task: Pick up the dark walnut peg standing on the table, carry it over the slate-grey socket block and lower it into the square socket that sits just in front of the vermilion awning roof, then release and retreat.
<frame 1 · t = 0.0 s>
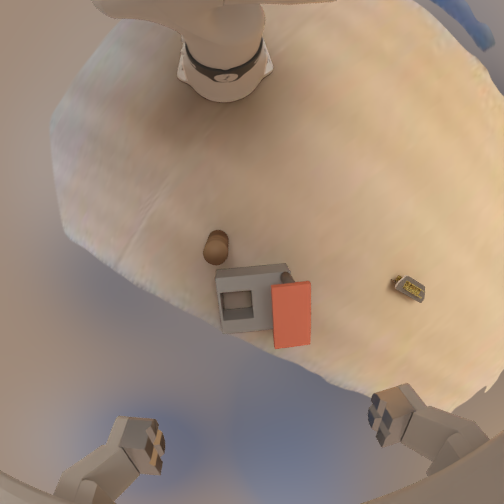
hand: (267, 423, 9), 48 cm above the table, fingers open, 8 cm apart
walnut peg: (218, 240, 56), on the table
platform: (401, 281, 62), on the table
socket stand: (253, 294, 59), on the table
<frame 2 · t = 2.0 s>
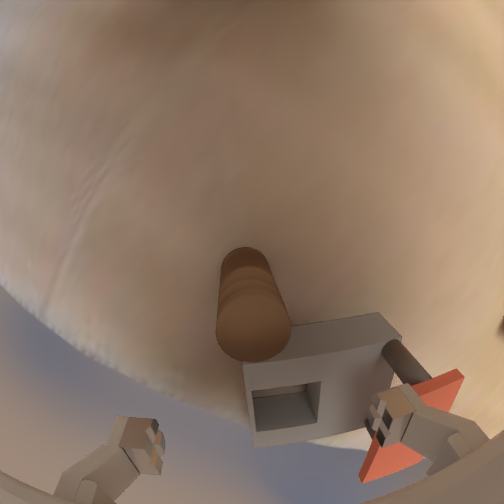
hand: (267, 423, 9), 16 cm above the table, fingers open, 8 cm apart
walnut peg: (245, 270, 24), on the table
socket stand: (311, 370, 28), on the table
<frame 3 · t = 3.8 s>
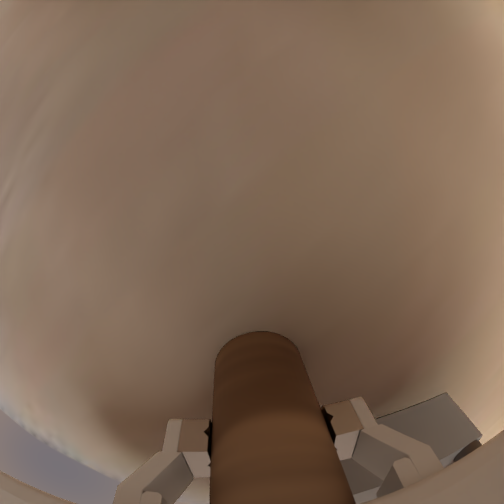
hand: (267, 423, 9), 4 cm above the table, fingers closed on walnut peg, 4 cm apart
walnut peg: (258, 367, 12), on the table, touching gripper
socket stand: (347, 468, 16), on the table
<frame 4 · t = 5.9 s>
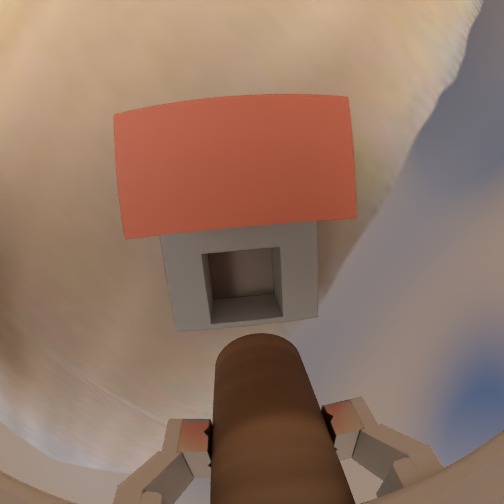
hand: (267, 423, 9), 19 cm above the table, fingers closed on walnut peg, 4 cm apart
walnut peg: (258, 369, 12), point 15 cm above the table, touching gripper
socket stand: (238, 231, 26), on the table
when the fingers open (6 cm above the table, at t = 8.0 s): walnut peg drops 2 cm, resting in socket stand.
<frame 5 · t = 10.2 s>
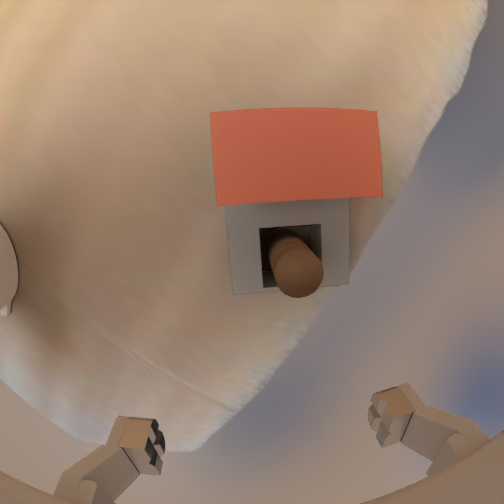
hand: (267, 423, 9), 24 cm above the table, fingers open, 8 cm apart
walnut peg: (283, 245, 33), resting in socket stand
socket stand: (282, 214, 32), on the table
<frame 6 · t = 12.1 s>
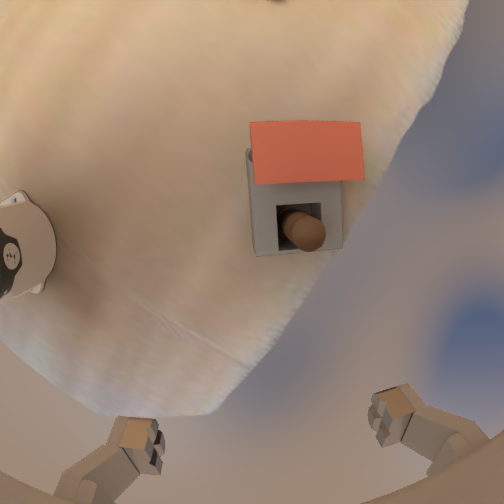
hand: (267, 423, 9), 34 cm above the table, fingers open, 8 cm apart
walnut peg: (290, 221, 42), resting in socket stand
socket stand: (290, 197, 41), on the table
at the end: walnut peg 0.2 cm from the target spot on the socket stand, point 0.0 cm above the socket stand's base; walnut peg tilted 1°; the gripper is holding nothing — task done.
